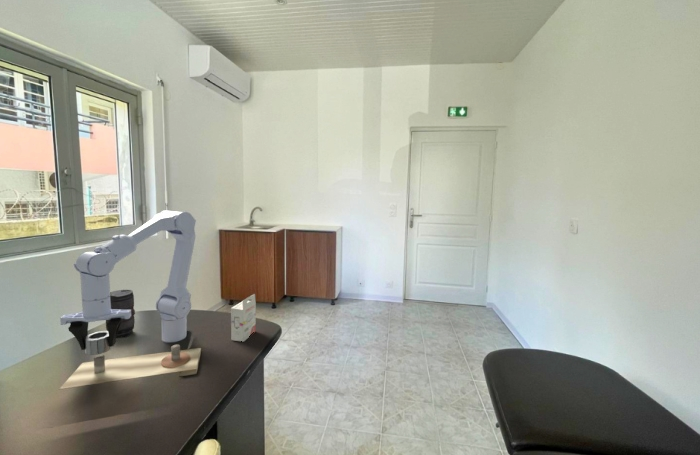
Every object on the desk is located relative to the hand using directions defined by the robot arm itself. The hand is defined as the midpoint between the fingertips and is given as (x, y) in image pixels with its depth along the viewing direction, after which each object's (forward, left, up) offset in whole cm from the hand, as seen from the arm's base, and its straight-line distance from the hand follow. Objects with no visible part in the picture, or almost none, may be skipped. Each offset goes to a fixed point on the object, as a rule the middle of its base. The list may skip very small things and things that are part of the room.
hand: (98, 346), depth 80 cm
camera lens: (-26, -3, -9) cm, 28 cm away
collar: (0, 0, -1) cm, 1 cm away
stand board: (0, +9, -9) cm, 12 cm away
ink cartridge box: (-14, +37, -9) cm, 40 cm away
